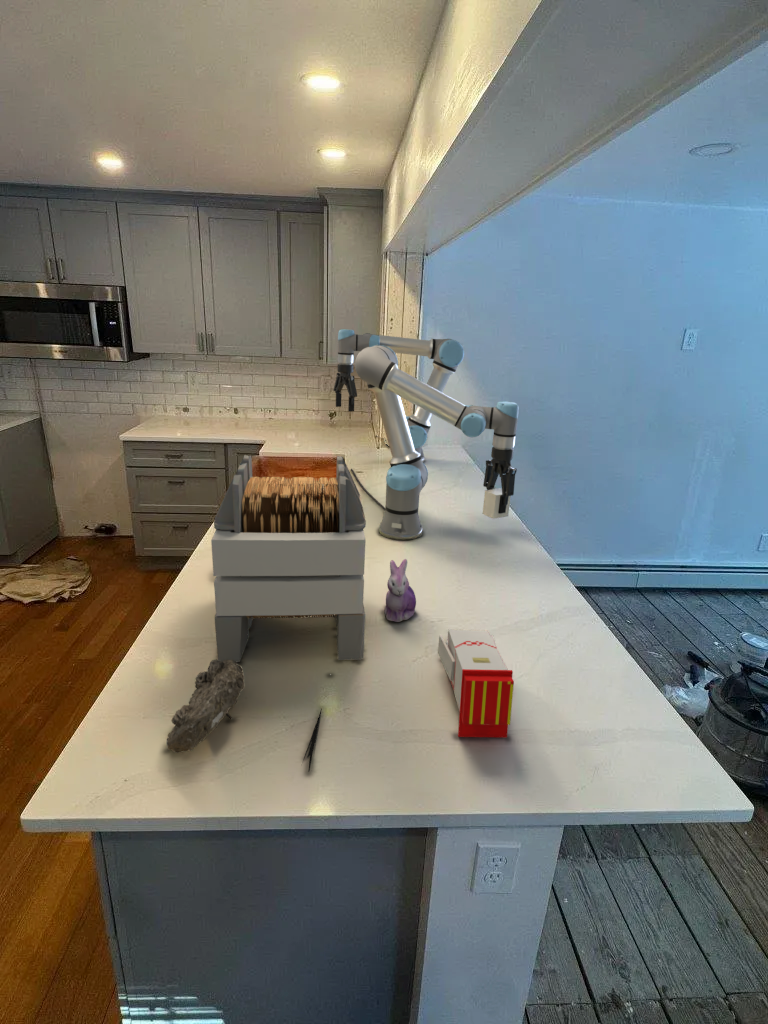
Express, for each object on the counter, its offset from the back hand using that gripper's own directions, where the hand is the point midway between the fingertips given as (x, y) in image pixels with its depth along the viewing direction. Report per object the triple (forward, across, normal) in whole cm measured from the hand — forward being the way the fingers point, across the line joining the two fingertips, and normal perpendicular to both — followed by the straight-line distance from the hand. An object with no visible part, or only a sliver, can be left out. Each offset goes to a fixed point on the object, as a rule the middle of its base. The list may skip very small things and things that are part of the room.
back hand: (344, 409), depth 274 cm
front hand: (+20, -101, -10) cm, 104 cm away
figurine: (+28, -137, +53) cm, 150 cm away
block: (+22, -101, -10) cm, 104 cm away
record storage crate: (+28, -129, +79) cm, 154 cm away
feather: (+28, -164, +88) cm, 188 cm away
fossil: (+28, -154, +106) cm, 189 cm away
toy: (+28, -171, +57) cm, 182 cm away
